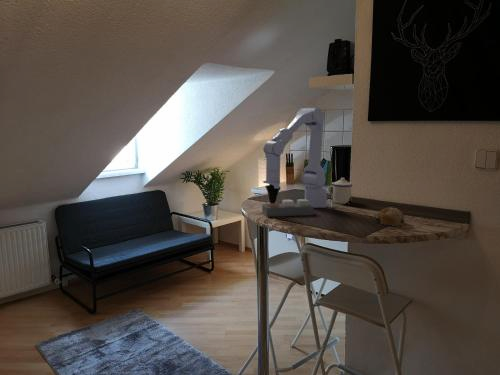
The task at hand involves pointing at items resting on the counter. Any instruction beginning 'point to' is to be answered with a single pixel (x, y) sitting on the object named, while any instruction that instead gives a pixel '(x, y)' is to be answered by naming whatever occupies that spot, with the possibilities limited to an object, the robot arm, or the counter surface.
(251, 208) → the counter surface
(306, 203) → the sage key
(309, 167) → the robot arm
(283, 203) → the cream cube
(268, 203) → the brown cube
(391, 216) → the bread roll
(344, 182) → the teacup with lid
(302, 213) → the keypad
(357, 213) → the counter surface
